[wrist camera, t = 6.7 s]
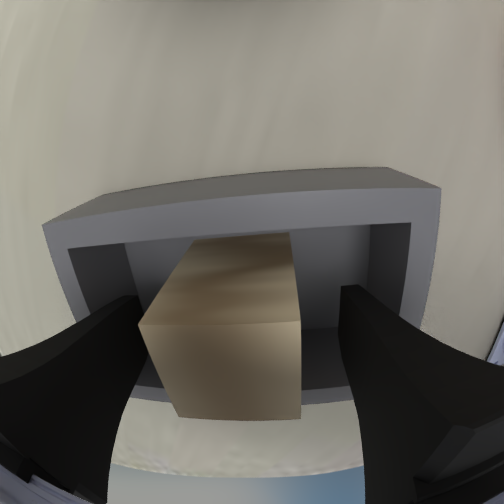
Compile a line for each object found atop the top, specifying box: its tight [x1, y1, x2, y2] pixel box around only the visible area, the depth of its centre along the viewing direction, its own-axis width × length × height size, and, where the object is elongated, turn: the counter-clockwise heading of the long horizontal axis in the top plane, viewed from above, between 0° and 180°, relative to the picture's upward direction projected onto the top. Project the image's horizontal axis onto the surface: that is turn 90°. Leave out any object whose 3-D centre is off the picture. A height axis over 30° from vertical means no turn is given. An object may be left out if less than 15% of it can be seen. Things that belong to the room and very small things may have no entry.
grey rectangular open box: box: [42, 167, 441, 405], centre depth 11 cm, size 13×8×4 cm, turn 95°
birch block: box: [138, 232, 301, 421], centre depth 10 cm, size 4×4×6 cm
